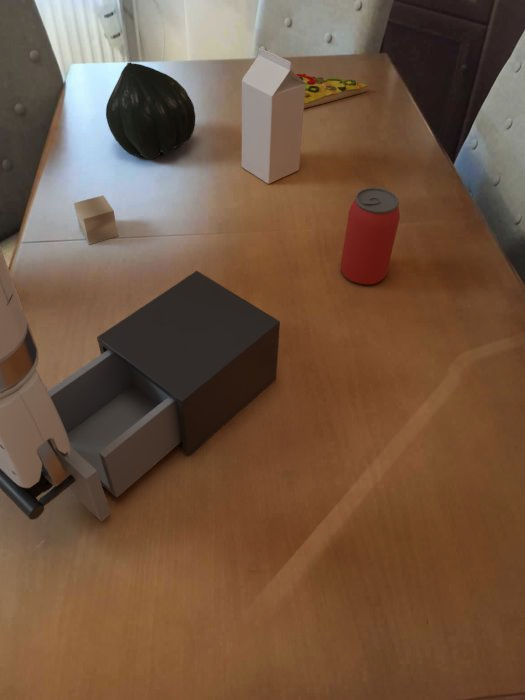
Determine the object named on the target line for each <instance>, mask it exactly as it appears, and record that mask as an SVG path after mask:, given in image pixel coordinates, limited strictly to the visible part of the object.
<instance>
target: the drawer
mask: <svg viewBox="0 0 525 700" xmlns="http://www.w3.org/2000/svg"><path fill="white" fill-rule="evenodd" d="M47 391H48V393H49V395H50V397H51V399H52V401H53V403H54V405H55V408H56V410H57V412H58V414H59V416H60V419H61V421H62V423H63V426H64V428H65V431H66V433H67V436H68V439H69V443H70V448H71V452H70V456H69V457H65V458H64V457H63V456H62V455H61V454H60V453H59V452H58V451H56V450H55V449H53V450H54V452H55V454H56V455H57V457H58V459H59V461H60V463H61V465H62V466H63V468H64V470H65V472H66V474H67V476H68V477H67V478H66V479H65V480H64V481H62V482H61V483H60V484H59V485H57V486H56V487H55V486H53V487H52V488H50V489H49V490H48V491H47V492H45V494H44V495H43V496H41V497H40V498H39V499H38V498H37V497H36V498H35V497H34V496H33V495H32V494H31V493H30V492H29V491H28V490H27V489H26V488H23V487H20V486H19V485H17V484H16V483H15V482H14V481H13V480H12V479H11V478H10V477H8V476H7V475H6V474H5V473H4V472H3V471H2V470H1V469H0V490H1V491H2V492H3V493H4V494H5V495H6V496H7V497H8V498H9V499H10V500H11V501H12V502H13V503H14V504H15V506H17V508H19V509H20V511H22V513H23V514H24V515H25V516H26V517H27V518H28V519H29V520H31V521H33V520H36V519H38V518H39V517H40V516H42V514H43V513H44V511H45V507H46V506H47V505H48V504H49V503H50V502H52V501H53V500H54V499H55V498H57V497H58V496H59V495H60V494H62V493H63V492H64V491H65V490H67V491H68V492H69V493H70V494H72V495H73V496H74V497H75V498H76V499H77V500H78V501H79V502H80V503H81V504H82V505H83V506H84V507H85V508H86V509H87V510H88V511H89V512H90V513H92V514H93V516H94V517H96V518H97V519H98V520H99V521H100V522H103V521H105V519H106V518H107V517H108V516H110V515H111V514H112V512H111V509H110V507H109V503H108V500H107V497H106V494H105V491H104V489H103V487H104V488H105V489H106V490H107V491H108V492H110V494H111V495H113V496H114V498H116V499H117V498H118V497H119V496H121V495H122V494H123V493H124V492H126V490H128V488H130V487H131V486H132V485H133V484H135V482H137V481H138V480H140V478H142V477H143V476H144V475H145V474H146V473H147V472H148V471H150V470H151V469H152V468H153V467H154V466H155V465H156V464H157V463H159V462H160V461H161V460H162V459H163V458H164V457H166V456H167V455H168V454H169V453H170V452H172V451H173V450H174V449H175V448H177V447H176V446H177V445H178V444H179V443H180V442H182V438H181V429H180V421H179V413H178V405H177V402H176V401H175V400H174V399H172V398H171V397H170V396H168V395H167V394H166V393H164V392H163V391H162V390H160V389H159V388H158V387H156V386H155V385H154V384H152V383H151V382H150V381H148V380H147V379H146V378H144V377H143V376H142V375H141V374H139V373H138V372H137V371H135V370H134V369H133V368H131V367H130V366H129V365H127V364H126V363H125V362H123V361H122V360H121V359H119V358H118V357H117V356H115V355H114V354H113V353H111V352H110V351H109V350H107V351H106V352H104V353H103V354H101V353H100V355H98V356H97V357H96V358H94V359H92V360H91V361H89V362H88V363H87V364H85V365H84V366H82V367H81V368H80V369H78V370H76V371H75V372H73V373H72V374H71V375H69V376H68V377H66V378H65V379H64V380H62V381H61V382H59V383H57V384H56V385H55V386H53V387H52V388H50V389H49V390H47Z"/></svg>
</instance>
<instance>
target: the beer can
mask: <svg viewBox="0 0 525 700" xmlns="http://www.w3.org/2000/svg"><path fill="white" fill-rule="evenodd" d="M399 204H400V200H399V198H398V196H397V195H396V194H395V193H394V192H392V191H390V190H388V189H386V188H381V187H367V188H363V189H361V190H359V191H358V192H357V193H356V195H355V197H354V200H353V201H352V203H351V205H350V208H349V210H348V215H347V223H346V228H345V234H344V241H343V245H342V246H343V247H342V253H341V260H340V271H341V274H343V276H344V277H345V278H346V279H347V280H349V281H350V282H353V283H355V284H359V285H366V286H367V285H368V286H369V285H374V284H377V283H379V282H381V281H383V279H384V278H386V276H387V274H388V269H389V266H390V261H391V256H392V252H393V248H394V244H395V240H396V235H397V232H398V226H399V222H400V219H401V217H400V215H401V213H400V208H399Z"/></svg>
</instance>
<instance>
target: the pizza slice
mask: <svg viewBox="0 0 525 700" xmlns="http://www.w3.org/2000/svg"><path fill="white" fill-rule="evenodd" d="M295 74H296V75H297V76H298V77H299V78H300V79H301V80H302V81H303V82H304V83H305V84H306V87H305V100H304V109H307V108H311V107H316V106H320V105H323V104H327V103H330V102H334V101H337V100H341V99H345V98H347V97H348V98H349V97H351V96H356V95H359V94H364V93H366V92H367V91H368V88H369V85H368V84H364V83H360V82H359V81H356V80H354V79H345V80H343V79H342V78H340V77H338V78H337V77H329V78H326V79H324V78H323V77H321V76H319V77H316V76H310V75H307V74H306V73H295Z"/></svg>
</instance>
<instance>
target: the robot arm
mask: <svg viewBox="0 0 525 700" xmlns="http://www.w3.org/2000/svg"><path fill="white" fill-rule="evenodd" d="M39 360H40V352H39V348H38V346H37V343H36V340H35V338H34V335H33V332H32V329H31V326H30V324H29V321H28V319H27V316H26V313H25V311H24V308H23V305H22V302H21V299H20V297H19V294H18V291H17V289H16V286H15V283H14V280H13V277H12V275H11V272H10V269H9V267H8V263H7V261H6V258H5V255H4V252H3V250H2V247H1V246H0V469H1V470H2V471H3V472H4V473H5V474H6V475H7V476H8V477H10V478H11V479H12V480H13V481H14V482H15V483H16V484H17V485H19V486H20V487H23V488H26V489H27V490H28V491H29V492H30V493H31V494H32V495H33V496H34V497H35V498H36V499H37V498H38V497H39V496H40V495H41V494H43V493H47V492H48V491H50V490H51V489H52V488H53V487H56V486H57V485H59V484H60V483H61V482H62V481H64V480H65V479H66V478H67V477H68V476H67V474H66V472H65V470H64V468H63V466H62V465H61V463H60V461H59V459H58V457H57V455H56V454H55V452H54V450H53V449H55V450H56V451H58V452H59V453H60V454H61V455H62V456H63V457H64V458H65V457H69V456H70V452H71V448H70V443H69V439H68V436H67V433H66V431H65V428H64V426H63V423H62V421H61V419H60V416H59V414H58V412H57V410H56V408H55V405H54V403H53V401H52V399H51V397H50V395H49V393H48V391H49V390H48V388H47V387H46V385H45V384H44V382H43V380H42V378H41V376H40V375H39V372H38V370H37V367H38V364H39Z"/></svg>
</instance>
